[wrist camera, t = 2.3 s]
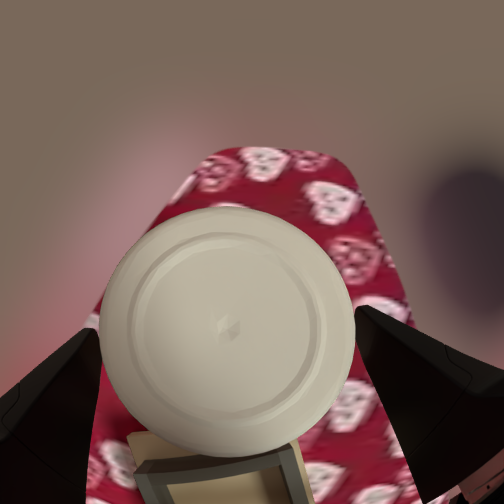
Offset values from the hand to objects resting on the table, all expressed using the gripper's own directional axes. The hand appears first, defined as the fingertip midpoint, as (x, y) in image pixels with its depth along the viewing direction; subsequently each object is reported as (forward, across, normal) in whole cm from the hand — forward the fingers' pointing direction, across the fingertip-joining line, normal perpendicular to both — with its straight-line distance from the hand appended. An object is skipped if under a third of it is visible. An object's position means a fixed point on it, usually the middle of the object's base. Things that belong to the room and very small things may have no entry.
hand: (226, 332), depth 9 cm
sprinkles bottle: (+6, 0, +6) cm, 9 cm away
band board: (-2, +1, +14) cm, 14 cm away
